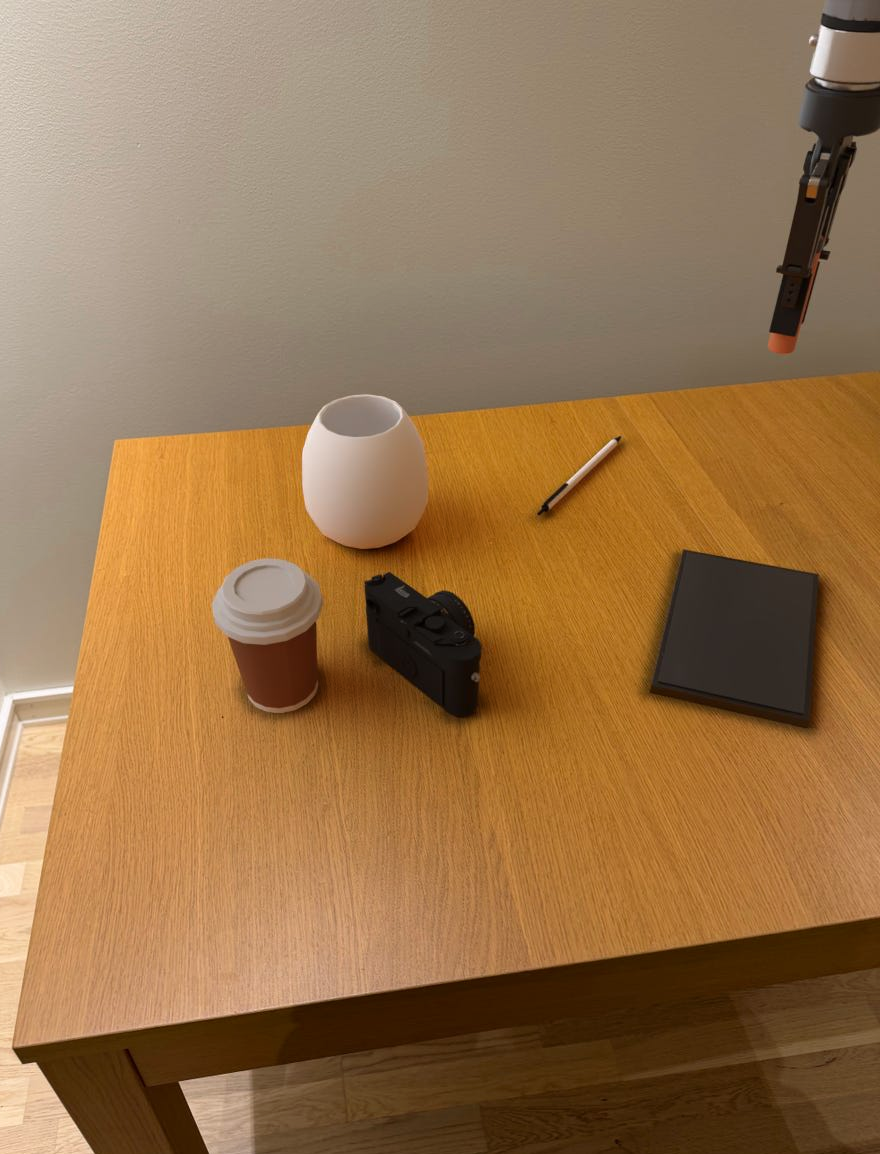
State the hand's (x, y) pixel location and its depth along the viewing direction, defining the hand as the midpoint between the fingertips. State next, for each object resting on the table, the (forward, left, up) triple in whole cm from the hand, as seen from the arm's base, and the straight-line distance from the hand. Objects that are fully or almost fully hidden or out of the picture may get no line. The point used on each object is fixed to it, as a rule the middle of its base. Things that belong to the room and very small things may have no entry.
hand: (786, 326), depth 100 cm
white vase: (+10, +48, -14) cm, 51 cm away
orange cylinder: (0, 0, -3) cm, 3 cm away
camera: (-12, +53, -14) cm, 56 cm away
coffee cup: (-7, +66, -14) cm, 68 cm away
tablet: (-24, +26, -14) cm, 38 cm away
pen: (+5, +23, -14) cm, 27 cm away
